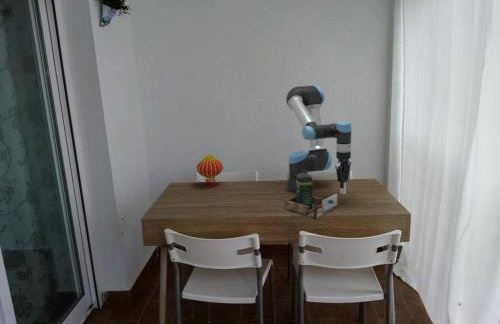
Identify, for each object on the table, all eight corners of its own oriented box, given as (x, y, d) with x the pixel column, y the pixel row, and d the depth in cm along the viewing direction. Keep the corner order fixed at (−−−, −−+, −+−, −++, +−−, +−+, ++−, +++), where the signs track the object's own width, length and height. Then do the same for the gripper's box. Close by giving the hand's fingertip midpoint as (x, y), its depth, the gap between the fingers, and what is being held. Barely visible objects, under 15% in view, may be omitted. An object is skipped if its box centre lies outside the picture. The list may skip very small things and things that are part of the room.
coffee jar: (314, 209, 191) (314, 175, 187) (299, 210, 190) (299, 177, 186) (308, 203, 200) (308, 171, 196) (294, 204, 199) (294, 172, 195)
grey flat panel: (322, 211, 187) (322, 200, 185) (335, 204, 196) (335, 193, 194) (325, 212, 185) (325, 201, 184) (338, 205, 194) (339, 194, 193)
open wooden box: (284, 209, 195) (284, 198, 194) (301, 201, 206) (301, 190, 204) (316, 218, 181) (316, 206, 180) (332, 209, 192) (333, 198, 190)
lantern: (199, 190, 233) (196, 144, 225) (197, 183, 249) (193, 140, 242) (225, 187, 236) (223, 142, 229) (221, 180, 253) (218, 138, 246)
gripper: (343, 154, 186) (342, 197, 191) (356, 149, 195) (355, 191, 200) (330, 152, 191) (330, 194, 197) (343, 148, 200) (343, 189, 206)
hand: (342, 193), depth 198 cm, fingers closed
